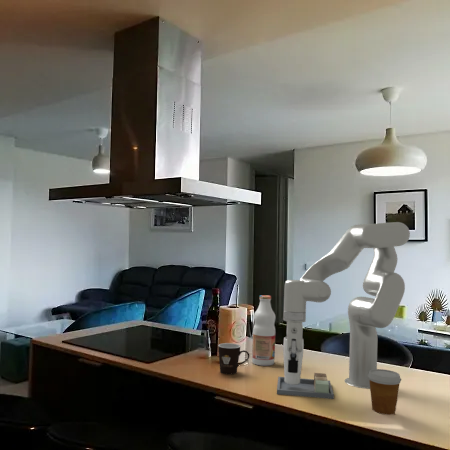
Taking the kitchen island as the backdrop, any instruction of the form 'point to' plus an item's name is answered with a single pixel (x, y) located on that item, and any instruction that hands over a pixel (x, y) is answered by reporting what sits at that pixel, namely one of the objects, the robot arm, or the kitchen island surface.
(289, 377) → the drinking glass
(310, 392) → the tray
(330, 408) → the kitchen island surface
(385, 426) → the kitchen island surface
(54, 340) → the kitchen island surface
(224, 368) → the coffee mug
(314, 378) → the walnut block
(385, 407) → the disposable coffee cup
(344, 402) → the kitchen island surface
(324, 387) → the sage painted block
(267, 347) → the fruit juice
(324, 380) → the beech block
